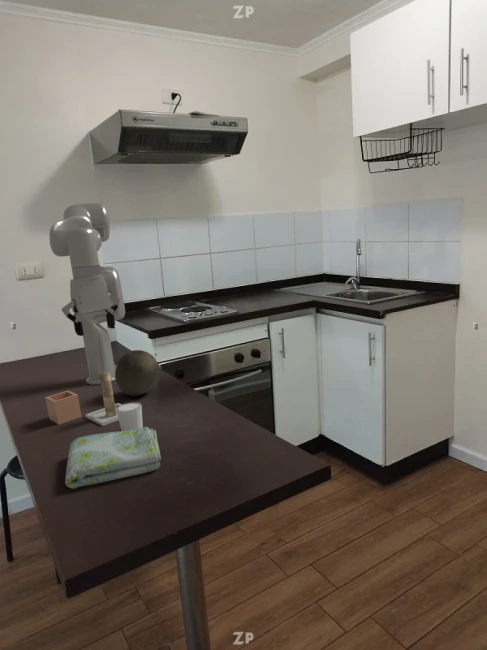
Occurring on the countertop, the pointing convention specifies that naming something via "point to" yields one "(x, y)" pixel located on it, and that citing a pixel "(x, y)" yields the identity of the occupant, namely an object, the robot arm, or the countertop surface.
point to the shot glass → (130, 416)
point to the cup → (63, 407)
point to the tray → (102, 416)
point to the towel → (111, 456)
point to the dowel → (107, 394)
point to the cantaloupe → (136, 372)
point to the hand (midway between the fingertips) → (96, 331)
